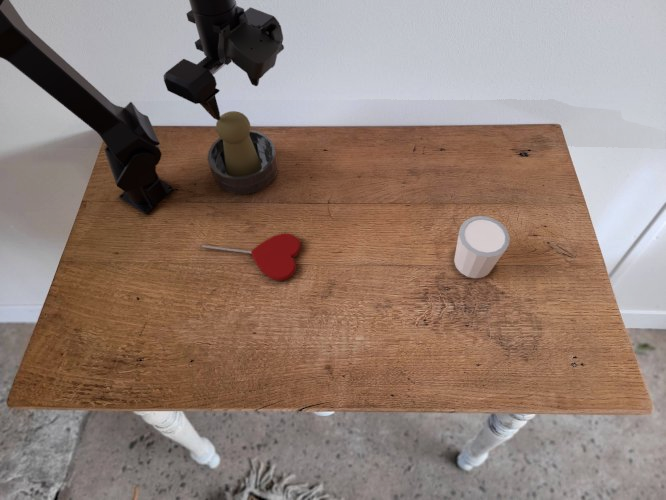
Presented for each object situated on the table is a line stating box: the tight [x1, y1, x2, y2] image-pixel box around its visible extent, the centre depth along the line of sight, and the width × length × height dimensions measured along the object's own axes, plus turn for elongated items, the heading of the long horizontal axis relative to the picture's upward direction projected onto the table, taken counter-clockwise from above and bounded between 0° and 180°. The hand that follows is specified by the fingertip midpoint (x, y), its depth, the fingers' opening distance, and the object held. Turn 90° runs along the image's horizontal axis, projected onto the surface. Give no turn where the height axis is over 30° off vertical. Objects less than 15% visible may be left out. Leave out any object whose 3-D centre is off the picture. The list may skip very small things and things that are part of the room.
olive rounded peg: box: [215, 110, 262, 177], centre depth 78 cm, size 6×6×11 cm
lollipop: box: [201, 233, 302, 281], centre depth 73 cm, size 8×1×15 cm
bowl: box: [206, 129, 279, 195], centre depth 81 cm, size 11×11×4 cm
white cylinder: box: [453, 215, 511, 279], centre depth 69 cm, size 7×7×7 cm
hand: (236, 101), depth 75 cm, fingers open, 9 cm apart
